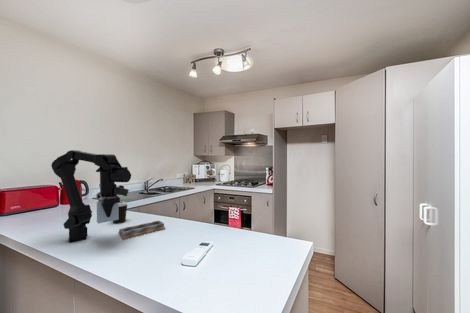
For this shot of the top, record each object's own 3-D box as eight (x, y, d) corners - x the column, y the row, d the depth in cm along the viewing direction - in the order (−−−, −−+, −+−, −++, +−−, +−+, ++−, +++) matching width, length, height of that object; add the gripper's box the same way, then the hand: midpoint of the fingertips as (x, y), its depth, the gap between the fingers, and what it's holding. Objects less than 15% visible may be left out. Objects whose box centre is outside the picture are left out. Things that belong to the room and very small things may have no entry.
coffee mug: (122, 224, 118) (122, 206, 118) (107, 224, 118) (107, 206, 118) (132, 218, 130) (132, 202, 130) (119, 218, 130) (119, 202, 130)
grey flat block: (98, 223, 90) (97, 202, 90) (96, 221, 92) (96, 201, 92) (118, 219, 95) (118, 200, 95) (117, 218, 97) (116, 199, 97)
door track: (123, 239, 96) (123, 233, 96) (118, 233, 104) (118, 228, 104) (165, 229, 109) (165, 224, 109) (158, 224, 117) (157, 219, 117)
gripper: (132, 182, 92) (132, 217, 92) (121, 178, 106) (122, 209, 106) (103, 184, 85) (103, 222, 85) (96, 180, 98) (96, 213, 99)
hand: (107, 216), depth 94 cm, fingers closed on grey flat block, 3 cm apart
